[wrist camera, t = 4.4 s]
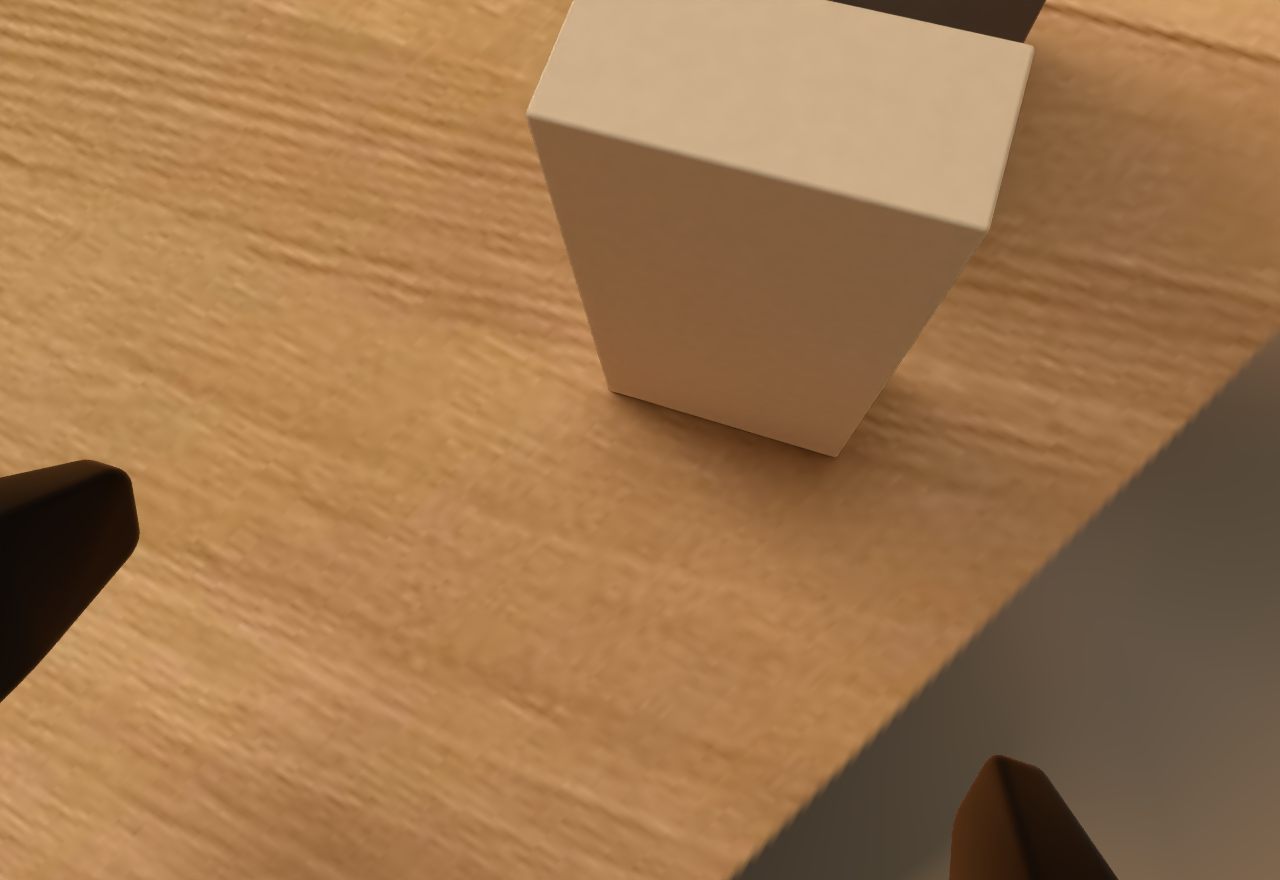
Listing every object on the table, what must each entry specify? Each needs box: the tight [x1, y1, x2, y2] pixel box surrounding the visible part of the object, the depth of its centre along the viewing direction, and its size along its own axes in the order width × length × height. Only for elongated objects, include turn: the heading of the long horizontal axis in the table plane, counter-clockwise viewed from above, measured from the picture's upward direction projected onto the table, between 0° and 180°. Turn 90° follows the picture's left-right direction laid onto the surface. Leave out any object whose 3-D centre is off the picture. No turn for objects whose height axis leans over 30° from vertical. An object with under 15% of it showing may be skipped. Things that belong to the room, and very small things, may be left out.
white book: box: [526, 0, 1034, 457], centre depth 17 cm, size 3×6×12 cm, turn 71°
